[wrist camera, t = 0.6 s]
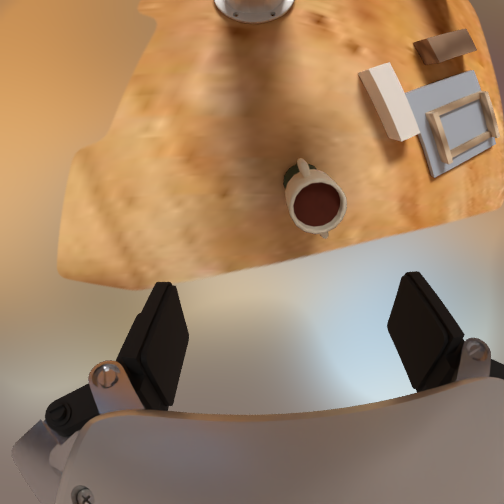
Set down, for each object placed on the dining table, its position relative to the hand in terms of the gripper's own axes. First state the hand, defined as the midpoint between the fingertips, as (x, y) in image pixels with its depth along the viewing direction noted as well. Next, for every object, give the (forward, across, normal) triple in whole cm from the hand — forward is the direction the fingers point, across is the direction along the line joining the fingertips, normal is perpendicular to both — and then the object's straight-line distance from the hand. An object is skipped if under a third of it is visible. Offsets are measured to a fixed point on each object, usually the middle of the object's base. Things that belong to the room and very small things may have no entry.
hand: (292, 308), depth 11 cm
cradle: (+34, -37, -9) cm, 51 cm away
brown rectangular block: (+35, -33, -24) cm, 54 cm away
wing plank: (+35, -20, -10) cm, 42 cm away
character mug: (+35, -6, +4) cm, 36 cm away
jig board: (+35, -36, -10) cm, 51 cm away
